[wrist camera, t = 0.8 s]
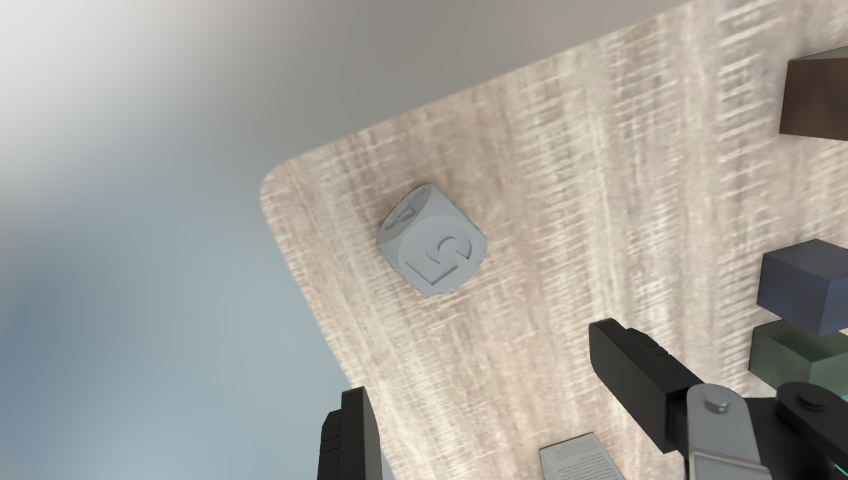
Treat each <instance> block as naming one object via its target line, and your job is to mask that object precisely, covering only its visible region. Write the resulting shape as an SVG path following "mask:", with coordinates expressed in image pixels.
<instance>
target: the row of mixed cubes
mask: <svg viewBox="0 0 848 480" xmlns="http://www.w3.org/2000/svg"><path fill="white" fill-rule="evenodd" d="M780 133H782V134H791V135H799V136H808V137H817V138H825V139H834V140H843V141H848V46H847V47H843V48H839V49H835V50H830V51H826V52H822V53H818V54H814V55H810V56H806V57H802V58H798V59H794V60H790V61H789V68H788V75H787V83H786V90H785V98H784V106H783V113H782V121H781V128H780ZM758 305H759V306H761V307H763V308H765V309H767V310H769V311H770V312H772V313H774V314H776V315H778V316H780V317H781V318H783V320H780V321H776V322H773V323H770V324H766V325H763V326H760V327H756V328H754V335H753V343H752V350H751V358H750V365H749V371H750V372H751V373H753V374H754V375H756V376H757V377H758V378H760V379H761V380H763V381H764V382H765V383H767V384H768V385H769V386H771V387H772V388H774V389H775V390H776V391H777V389H778V387H779V386H780V385H782V384H784V383H787V382H796V381H797V382H806V383H811V384H815V385H818V386H821V387H823V388H826V389H828V390H830V391H832V392H833V393H835V394H837V395H838V396H839V397H842V396H846V395H848V336H847V335H845V334H843V333H841V332H839V330H842V329H845V328H848V249H846V248H843V247H840V246H837V245H833V244H830V243H827V242H824V241H821V240H818V239H816V240H812V241H809V242H805V243H802V244H798V245H795V246H791V247H788V248H784V249H781V250H777V251H774V252H770V253H767V254H764V258H763V266H762V273H761V281H760V288H759V296H758Z"/></svg>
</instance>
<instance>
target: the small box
mask: <svg viewBox="0 0 848 480" xmlns="http://www.w3.org/2000/svg"><path fill="white" fill-rule="evenodd" d="M540 455H541V461H542V466H543V472H544V478H545V480H626V479H625V477H624V476H623V474H622V473H621V471H620V470H619V469H618V467H617V466H616V464H615V463H614V461H613V460H612V459H611V457H610V456H609V454H608V453H607V452H606V450H605V449H604V447H603V446H602V444H601V443H600V442H599V440H598V439H597V437H596V436H595V434H594V433H590V434H587V435H584V436H581V437H578V438H575V439H572V440H569V441H566V442H563V443H560V444H557V445H553V446H550V447H547V448H544V449H542V450H540Z"/></svg>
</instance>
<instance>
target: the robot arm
mask: <svg viewBox="0 0 848 480" xmlns="http://www.w3.org/2000/svg"><path fill="white" fill-rule="evenodd" d="M589 345H590V360H591V364H592V367H593V369H594V371H595V373H596V374H597V376H598V377H599V378H600V380H601V381H602V382H603V383H604V384H605V386H606V387H607V388H608V389H609V390H610V391H611V393H612V394H613V395H614V396H615V397H616V398H617V400H618V401H619V402H620V403H621V404H622V406H623V407H624V408H625V409H626V410H627V411H628V413H629V414H630V415H631V416H632V417H633V419H634V420H635V421H636V422H637V423H638V424H639V426H640V427H641V428H642V429H643V430H644V431H645V433H646V434H647V435H648V436H649V437H650V439H651V440H652V441H653V442H654V443H655V444H656V446H657V447H658V448H659V449H660V450H661V452H662V453H663V454H665V453H669V452H672V451H675V450H678V451H679V452H680V453H681V455H682V456H683V478H684V480H848V476H847V475H848V402H847V401H845V400H844V399H842V398H841V397H839V396H838V395H837V394H835V393H833V392H832V391H830V390H828V389H826V388H823V387H821V386H818V385H815V384H811V383H806V382H797V381H796V382H787V383H784V384H782V385H780V386H779V387H778V389H777V393H776V397H768V398H742V397H741V396H740V395H739V394H737V393H736V392H734V391H732V390H731V389H729V388H726V387H723V386H720V385H716V384H705V383H704V382H703V381H702V380H701V379H699V378H698V377H697V376H696V375H695V374H693V373H692V372H691V371H690V370H689V369H687V368H686V367H685V366H684V365H683V364H681V363H680V362H679V361H678V360H677V359H675V358H674V357H673V356H672V355H671V354H670V355H669V354H668V352H667V351H666V350H665V349H664V348H662V347H661V346H659V344H658V343H656V342H655V341H654V340H653V339H652V338H650V337H649V336H648V335H647V334H645V333H642V332H640V331H638V330H635V329H633V328H629V329H625V328H624V327H623V326H621V325H620V324H619V323H618V322H617V321H616V320H615V319H613V318H607V319H604V320H600V321H597V322H593V323H590V324H589ZM835 464H836V465H837V466H838V467H839V468H840V469H841V470H843V471H844V472H845V473H846V474H847V475H846V474H845V473H843V472H842V471H841V470H840V469H839V468H837V467H836V466H835ZM317 480H383V478H382V464H381V450H380V438H379V431H378V426H377V422H376V418H375V415H374V412H373V409H372V406H371V403H370V400H369V397H368V394H367V391H366V389H365V387H364V386H362V387H358V388H354V389H351V390H347V391H344V392H342V402H341V409H339V410H336V411H333V412H330V413H329V414H328V416H327V418H326V420H325V422H324V424H323V426H322V433H321V444H320V455H319V465H318V475H317Z"/></svg>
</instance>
